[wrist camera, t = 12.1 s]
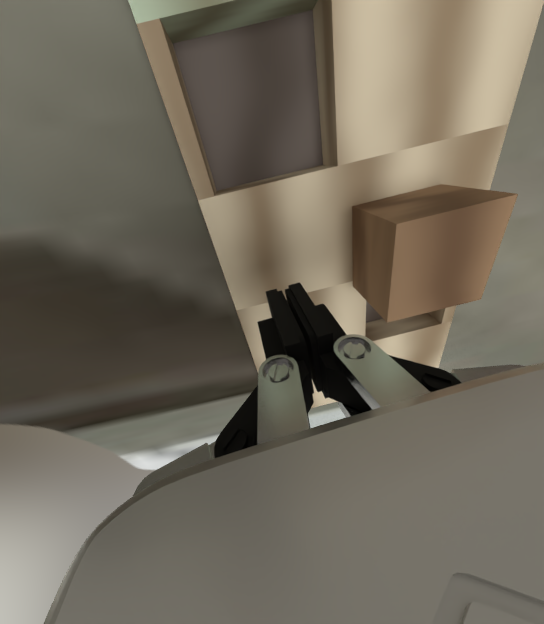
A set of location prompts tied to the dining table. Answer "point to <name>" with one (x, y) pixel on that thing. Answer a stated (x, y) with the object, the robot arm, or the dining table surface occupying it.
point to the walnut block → (427, 248)
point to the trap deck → (331, 132)
